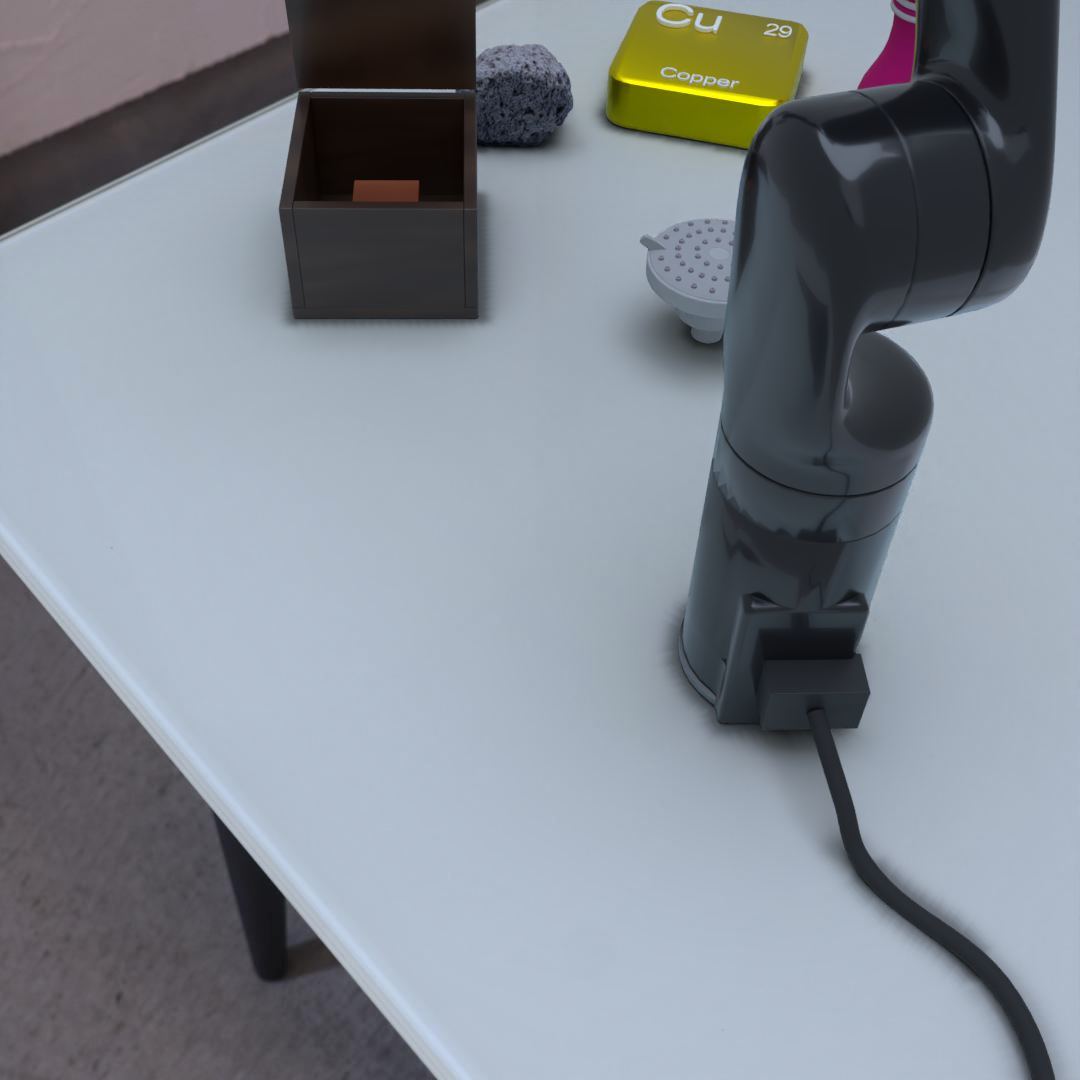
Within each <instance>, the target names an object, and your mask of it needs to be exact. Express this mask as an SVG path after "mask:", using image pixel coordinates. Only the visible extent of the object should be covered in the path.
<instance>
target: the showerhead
mask: <svg viewBox="0 0 1080 1080" xmlns="http://www.w3.org/2000/svg"><path fill="white" fill-rule="evenodd" d="M734 229H735V220H731V219H724V218H723V219H722V218H697V219H696V218H695V219H689V220H684V221H681V222H678V223H674V224H673V225H671V226H668V227H666V228H665V229H662V231H660V232H659V233H658V234H657V235H655V237H653V236H651V235H649V234H645V235H643V236H641V237H640V238H639V243H640V244H641V245H642V246H644V247H645V248H646V249H647V252H646V262H645V263H646V264H645V276H646V280H647V282H648V284H649V286H650V288H651V289H652V291H653V292H654V293H655V294H656V295H657V296H658V297H659V298H660V299H661V300H662V301H663V302H665V303H667V304H668V305H669V306H671V307H673V308H675V312H676V314H677V316H678V317H679V319H680V320H681V321H682V322H683V323H685V324H686V325H687V326H689V327H691V329H690V335H691V337H692V338H693V339H694V340H695V341H697V342H699V343H703V344H714V343H718V342H719V341H720V340H721V339H723V333H724V323H725V314H726V305H727V298H728V290H729V281H730V272H731V262H732V251H733V240H734Z"/></svg>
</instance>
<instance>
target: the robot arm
mask: <svg viewBox="0 0 1080 1080" xmlns="http://www.w3.org/2000/svg"><path fill="white" fill-rule="evenodd" d="M915 1H916V34H915V50H914V62H913V69H912V75H911V80H910V82H904V83H897V84H891V85H884V86H878V87H871V88H864V89H858V90H857V89H852V90H847V91H838V92H832V93H831V92H830V93H825V94H819V95H812V96H807V97H801V98H796V99H794V100H793V101H789V102H786V103H784V104H781V105H780V106H778V107H776V108H775V109H773V110H772V111H771V112H770V113H769V114H768V115H767V116H766V117H765V118H764V120H763V121H762V123H761V124H760V125H759V127H758V128H757V130H756V132H755V134H754V136H753V138H752V140H751V143H750V146H749V149H747V151H746V154H745V158H744V162H743V165H742V170H741V174H740V178H739V179H740V180H739V186H738V194H737V199H736V209H735V220H734V221H735V229H734V240H733V251H732V262H731V272H730V281H729V290H728V298H727V305H726V314H725V323H724V331H723V334H722V354H723V362H722V363H723V365H722V366H723V395H722V401H721V407H720V414H719V419H718V425H717V429H716V430H717V431H716V435H715V440H714V446H713V452H712V458H711V461H710V462H711V463H710V468H709V474H708V479H707V486H706V491H705V496H704V501H703V502H704V503H703V507H702V508H703V509H702V514H701V520H700V525H699V529H698V530H699V531H698V536H697V542H696V547H695V553H694V560H693V564H692V571H691V576H690V582H689V587H688V593H687V602H686V607H685V613H684V617H683V619H682V622H681V625H680V629H679V637H678V655H679V661H680V665H681V667H682V669H683V671H684V674H685V676H686V677H687V679H688V680H689V682H690V683H691V685H692V686H693V687H694V689H695V690H697V692H698V693H699V694H700V695H701V696H702V697H703V698H704V699H706V700H707V701H708V702H709V703H711V704H712V705H713V706H714V709H715V712H716V719H717V721H718V722H719V723H722V724H760V728H761V730H762V731H777V730H780V731H783V730H784V731H787V730H788V731H789V730H810V731H811V734H812V738H813V740H814V744H815V748H816V751H817V754H818V757H819V762H820V764H821V767H822V771H823V774H824V777H825V780H826V784H827V787H828V790H829V794H830V798H831V800H832V803H833V807H834V809H835V810H834V811H835V814H836V820H837V823H838V828H839V833H840V837H841V841H842V845H843V848H844V850H845V853H846V854H847V857H848V859H849V861H850V862H851V864H852V865H853V867H854V868H855V869H856V871H857V872H858V874H859V875H860V877H861V878H862V879H863V881H864V882H865V883H866V884H867V885H868V887H870V888H871V890H872V891H873V892H874V893H875V894H876V895H877V896H878V897H879V898H880V899H881V900H882V901H883V902H884V903H885V904H887V906H888V907H890V908H891V909H892V910H893V911H894V912H896V913H897V914H899V915H900V916H901V917H903V918H904V920H906V921H907V922H909V923H910V924H912V925H913V926H915V928H917V929H918V930H920V931H921V932H923V933H924V934H926V935H927V936H929V937H930V938H932V939H933V940H934V941H936V942H937V943H938V944H940V945H942V946H943V947H944V948H946V949H947V950H949V951H950V952H951V953H953V954H954V955H955V956H957V958H959V959H960V960H961V961H963V963H965V964H966V965H967V966H969V968H971V969H972V970H973V971H974V972H975V973H976V975H978V976H979V977H980V978H981V979H982V980H983V981H984V983H985V984H986V985H987V986H988V987H989V988H990V990H991V991H992V993H993V994H994V995H995V997H996V999H997V1000H998V1001H999V1003H1000V1004H1001V1006H1002V1007H1003V1009H1004V1011H1005V1012H1006V1014H1007V1017H1008V1018H1009V1019H1010V1021H1011V1023H1012V1025H1013V1028H1014V1030H1015V1032H1016V1034H1017V1036H1018V1039H1019V1041H1020V1044H1021V1046H1022V1048H1023V1051H1024V1054H1025V1056H1026V1060H1027V1063H1028V1067H1029V1070H1030V1074H1031V1078H1032V1080H1056V1075H1055V1072H1054V1069H1053V1065H1052V1060H1051V1058H1050V1055H1049V1052H1048V1049H1047V1045H1046V1043H1045V1041H1044V1038H1043V1036H1042V1034H1041V1032H1040V1031H1041V1030H1040V1029H1039V1026H1038V1025H1037V1023H1036V1021H1035V1019H1034V1016H1033V1014H1032V1012H1031V1010H1030V1009H1029V1007H1028V1006H1027V1004H1026V1002H1025V1000H1024V999H1023V997H1022V995H1021V994H1020V992H1019V991H1018V990H1017V988H1016V986H1015V985H1014V984H1013V982H1012V981H1011V980H1010V978H1009V976H1008V975H1007V974H1006V973H1005V972H1004V971H1003V970H1002V969H1001V968H1000V966H999V965H998V964H997V963H996V962H995V961H994V960H993V959H992V958H991V957H990V956H989V955H987V954H986V952H984V951H983V950H982V948H980V947H979V946H978V945H976V944H975V943H974V942H972V940H970V939H968V938H967V937H966V936H964V935H963V934H962V933H961V932H959V931H958V930H956V929H955V928H954V927H952V926H950V924H948V923H946V922H945V921H943V920H942V919H940V918H939V917H937V916H936V915H934V914H933V913H932V912H930V911H928V909H926V908H924V907H923V906H922V905H920V904H919V903H917V902H916V901H914V900H913V899H912V898H910V896H908V895H907V894H906V893H904V892H903V891H902V890H901V889H900V888H899V887H898V886H896V884H895V883H893V882H892V881H891V880H890V878H889V877H888V876H887V875H886V874H885V873H884V872H883V871H882V870H881V868H880V867H879V866H878V864H877V863H876V862H875V860H874V859H873V857H872V856H871V855H870V853H869V852H868V850H867V848H866V846H865V844H864V841H863V839H862V835H861V831H860V827H859V821H858V817H857V812H856V807H855V805H854V801H853V797H852V794H851V790H850V789H849V784H848V782H847V778H846V775H845V772H844V769H843V764H842V762H841V759H840V756H839V753H838V748H837V746H836V743H835V740H834V736H833V733H832V730H848V729H850V730H852V729H853V730H854V729H859V726H860V723H861V720H862V717H863V715H864V712H865V709H866V707H867V704H868V701H869V698H870V696H871V689H870V684H869V680H868V677H867V672H866V668H865V665H864V660H863V658H862V657H863V656H862V653H858V647H859V646H860V642H861V639H862V636H863V633H864V630H865V628H866V625H867V621H868V619H869V616H870V610H871V609H870V606H871V605H872V601H873V599H874V595H875V592H876V589H877V586H878V583H879V580H880V577H881V574H882V571H883V568H884V565H885V562H886V560H887V557H888V554H889V551H890V548H891V545H892V542H893V539H894V536H895V533H896V530H897V527H898V524H899V521H900V518H901V515H902V513H903V509H904V506H905V504H906V501H907V498H908V496H909V493H910V491H911V487H912V484H913V481H914V479H915V475H916V472H917V469H918V466H919V463H920V461H921V458H922V455H923V452H924V448H925V446H926V443H927V440H928V437H929V434H930V432H931V427H932V425H933V420H934V413H935V399H934V391H933V387H932V385H931V382H930V380H929V378H928V375H927V373H926V372H925V370H924V369H923V368H922V367H921V365H920V364H919V362H918V361H917V360H916V359H915V358H914V356H912V355H911V353H909V351H907V349H905V348H904V347H902V346H901V345H900V344H898V343H897V342H895V341H894V340H892V339H891V338H889V337H887V336H885V335H884V334H882V333H880V331H885V330H890V329H894V328H899V327H904V326H910V325H915V324H921V323H925V322H930V321H935V320H941V319H945V318H950V317H955V316H958V315H963V314H968V313H972V312H976V311H980V310H983V309H987V308H989V307H991V306H994V305H997V304H999V303H1000V302H1002V301H1004V300H1006V299H1008V297H1009V298H1010V296H1011V295H1012V294H1013V293H1014V292H1015V291H1017V289H1018V288H1019V287H1020V286H1021V285H1022V284H1023V283H1024V282H1025V280H1026V278H1027V277H1028V274H1029V273H1030V271H1031V270H1032V268H1033V266H1034V264H1035V261H1036V259H1037V257H1038V255H1039V252H1040V250H1041V249H1040V248H1041V246H1042V242H1043V239H1044V235H1045V232H1046V226H1047V223H1048V217H1049V212H1050V207H1051V200H1052V191H1053V185H1054V175H1055V174H1054V173H1055V172H1054V171H1055V162H1056V141H1057V118H1058V91H1059V89H1058V88H1059V87H1058V85H1059V55H1060V51H1059V50H1060V20H1061V19H1060V18H1061V0H915Z"/></svg>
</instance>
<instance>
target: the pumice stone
mask: <svg viewBox="0 0 1080 1080" xmlns="http://www.w3.org/2000/svg"><path fill="white" fill-rule="evenodd" d="M454 92H459V93H476V94H477V145H483V146H486V147H496V146H497V147H498V146H502V147H503V146H504V147H508V146H514V147H516V146H517V147H526V148H527V147H528V148H529V147H534V146H537V145H539V144H541V143H542V141H545V140H546V139H548V138H549V136H550V134H553V133H554V131H555V129H556V127H561V126H563V124H564V122H565V120H566V118H567V117H568V114H570V112H571V111H572V110H573V109H574V96H573V93H572V83H571V79H570V76H569V74H568V73H567V70H566V69H565V68H564V66H563V65H562V62H559V61H558V59H557V58H556V56H555V55H554V54H553V53H552V52H551V51H549V50H548V48H547V47H545V46H544V45H542V44H537V43H532V44H530V43H526V44H522V45H517V44H514V43H512V44H501V45H496V46H494V47H491V48H490V47H487V48H485V49H484V50H483V51H481V53H480V54H479V55H478V56H476V90H455V91H454Z"/></svg>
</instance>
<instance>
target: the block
mask: <svg viewBox="0 0 1080 1080" xmlns="http://www.w3.org/2000/svg"><path fill="white" fill-rule="evenodd" d="M352 201H395V202H420V186H419V180H355V181H354V189H353V199H352Z"/></svg>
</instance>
